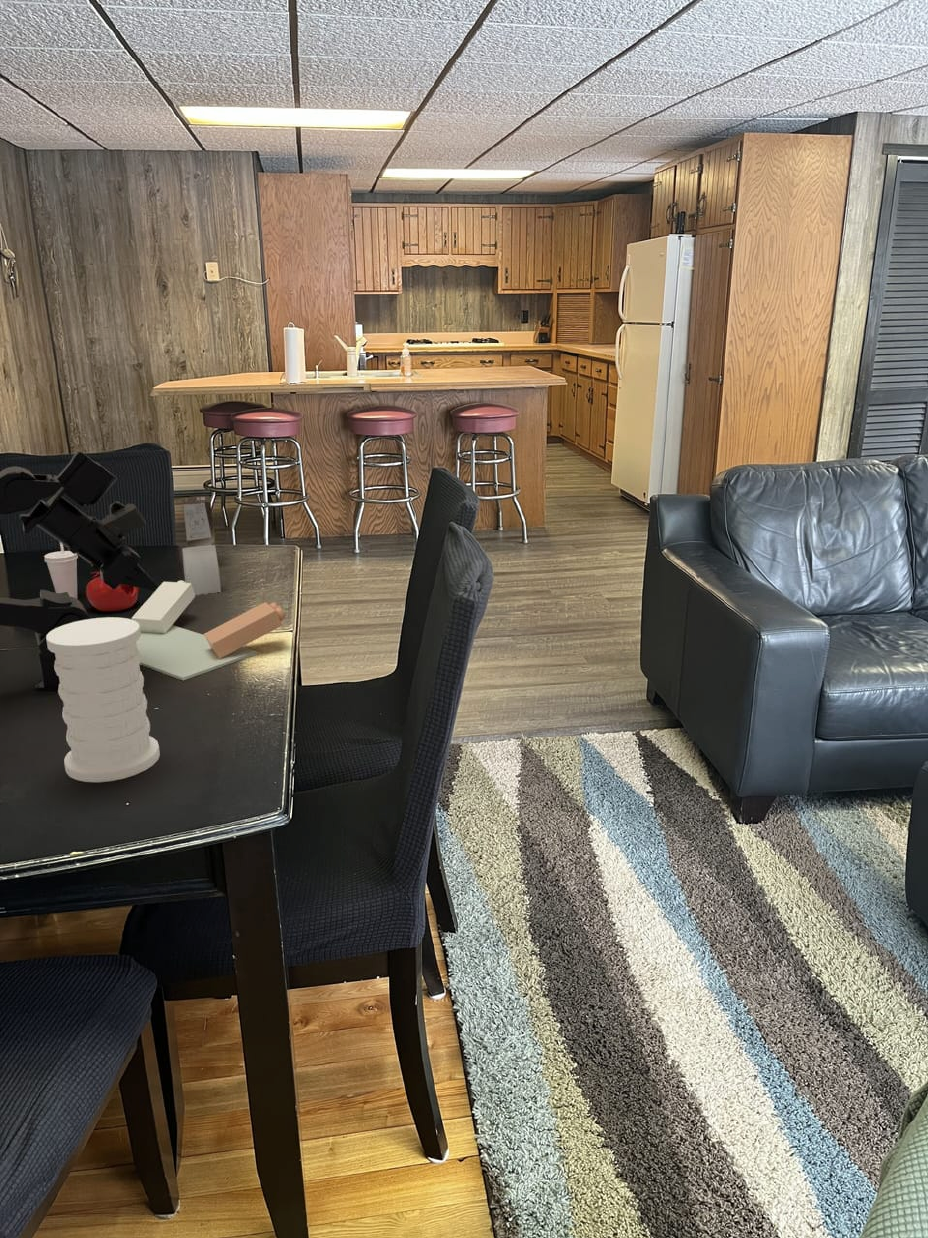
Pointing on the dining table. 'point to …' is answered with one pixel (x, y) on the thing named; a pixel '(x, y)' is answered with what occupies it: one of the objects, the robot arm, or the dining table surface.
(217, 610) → the dining table surface
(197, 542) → the coffee box
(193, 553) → the pale grey upright block
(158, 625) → the tile one
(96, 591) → the red tomato
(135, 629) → the decorative container
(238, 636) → the orange rectangular block
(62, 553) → the smoothie
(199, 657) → the mat
